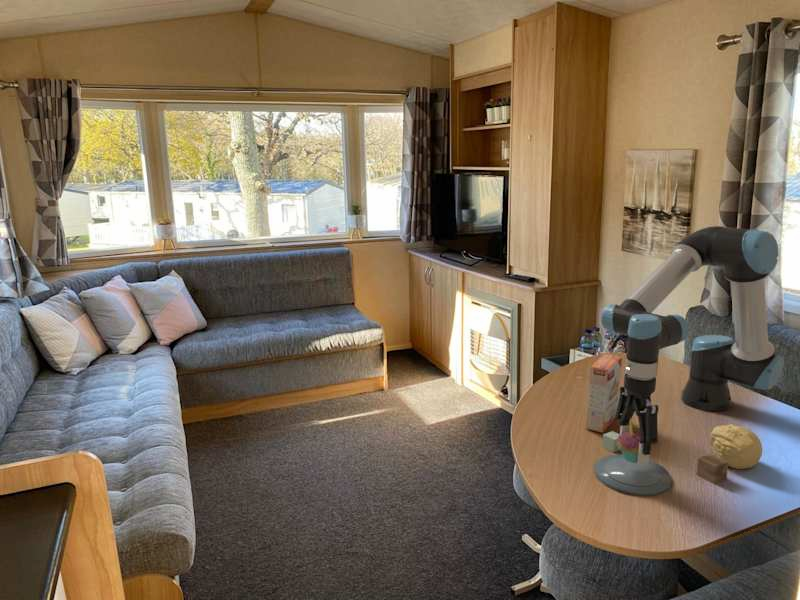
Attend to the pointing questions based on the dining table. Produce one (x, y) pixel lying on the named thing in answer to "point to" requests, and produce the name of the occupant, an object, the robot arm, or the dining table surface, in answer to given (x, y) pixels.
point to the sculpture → (736, 446)
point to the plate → (632, 476)
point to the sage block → (611, 441)
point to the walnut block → (712, 468)
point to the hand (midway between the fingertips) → (633, 455)
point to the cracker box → (603, 392)
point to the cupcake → (630, 444)
